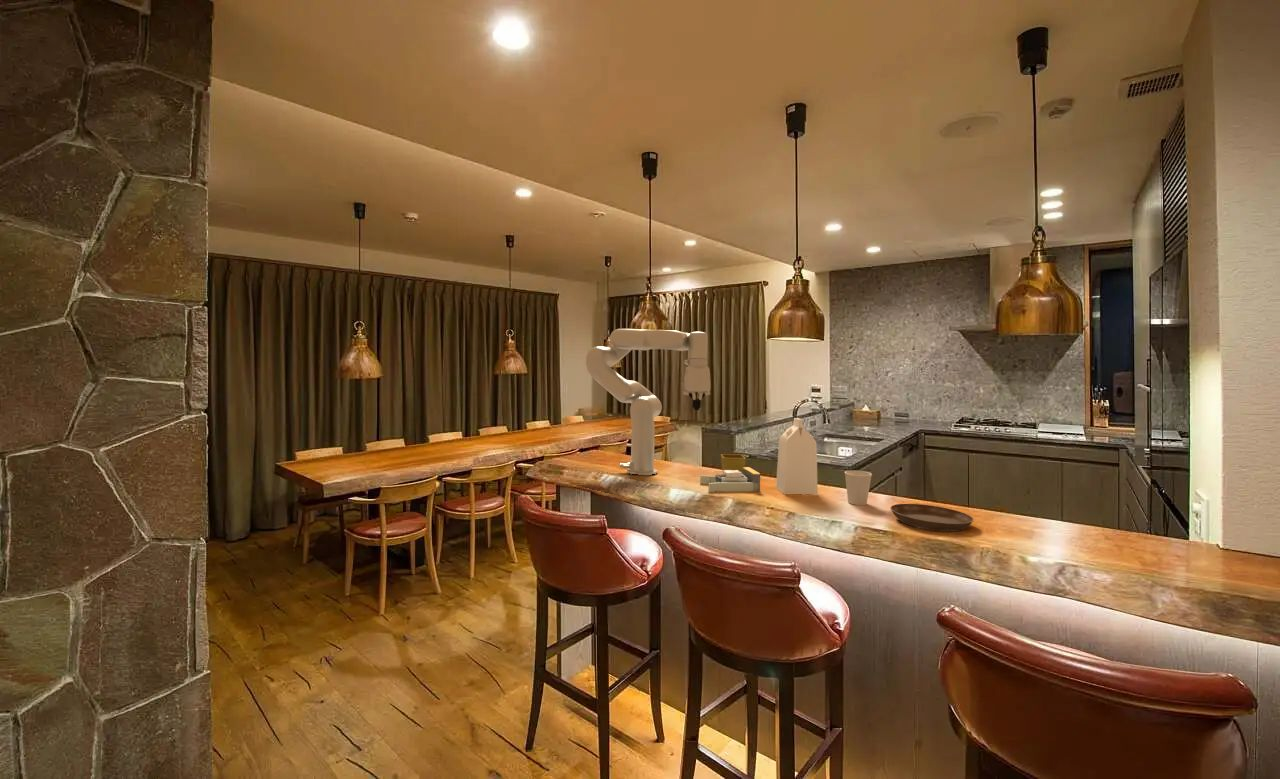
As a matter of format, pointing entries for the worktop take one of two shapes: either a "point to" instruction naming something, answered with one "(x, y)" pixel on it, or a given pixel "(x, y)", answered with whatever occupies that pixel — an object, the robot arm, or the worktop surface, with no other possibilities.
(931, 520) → the plant saucer
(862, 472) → the dixie cup
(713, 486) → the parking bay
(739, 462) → the flower pot
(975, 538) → the worktop surface
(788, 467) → the milk
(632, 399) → the robot arm
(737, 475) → the trolley
